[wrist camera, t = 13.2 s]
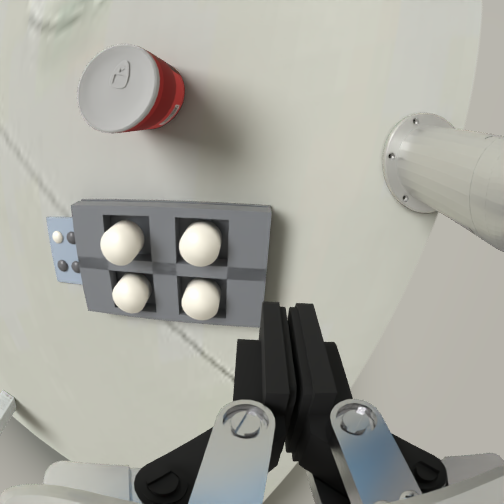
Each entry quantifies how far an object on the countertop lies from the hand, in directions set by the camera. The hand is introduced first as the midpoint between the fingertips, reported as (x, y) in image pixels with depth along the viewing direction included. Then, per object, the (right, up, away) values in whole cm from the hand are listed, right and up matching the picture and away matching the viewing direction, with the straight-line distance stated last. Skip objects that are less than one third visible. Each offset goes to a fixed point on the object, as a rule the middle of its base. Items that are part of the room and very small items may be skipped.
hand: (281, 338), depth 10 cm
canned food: (-12, +21, +21) cm, 32 cm away
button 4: (-7, -2, +29) cm, 30 cm away
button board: (-15, +2, +29) cm, 32 cm away
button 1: (-16, +5, +25) cm, 30 cm away
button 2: (-16, -2, +29) cm, 33 cm away
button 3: (-7, +5, +26) cm, 27 cm away
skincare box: (-64, -35, +45) cm, 86 cm away
